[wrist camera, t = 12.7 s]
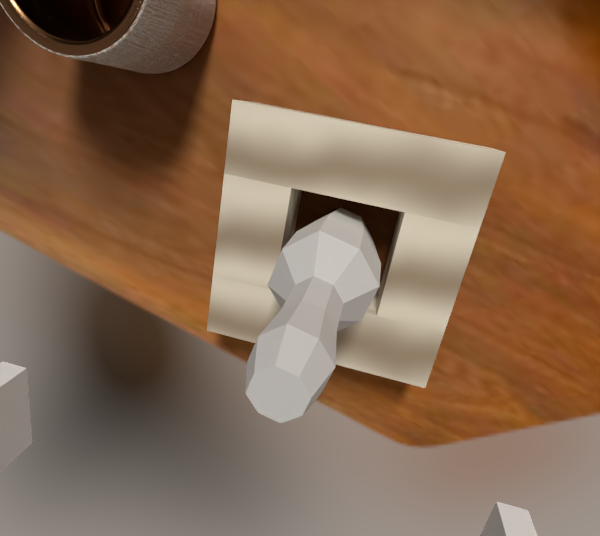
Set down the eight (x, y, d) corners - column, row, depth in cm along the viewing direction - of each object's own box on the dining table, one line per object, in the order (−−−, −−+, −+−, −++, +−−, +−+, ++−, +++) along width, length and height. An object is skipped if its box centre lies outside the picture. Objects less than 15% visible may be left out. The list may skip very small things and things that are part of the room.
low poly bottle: (289, 236, 36) (162, 387, 16) (340, 181, 34) (267, 276, 14) (343, 286, 37) (287, 493, 17) (397, 235, 35) (407, 403, 14)
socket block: (254, 102, 33) (232, 99, 29) (488, 147, 31) (505, 152, 27) (228, 305, 40) (206, 330, 35) (420, 354, 38) (425, 388, 33)
